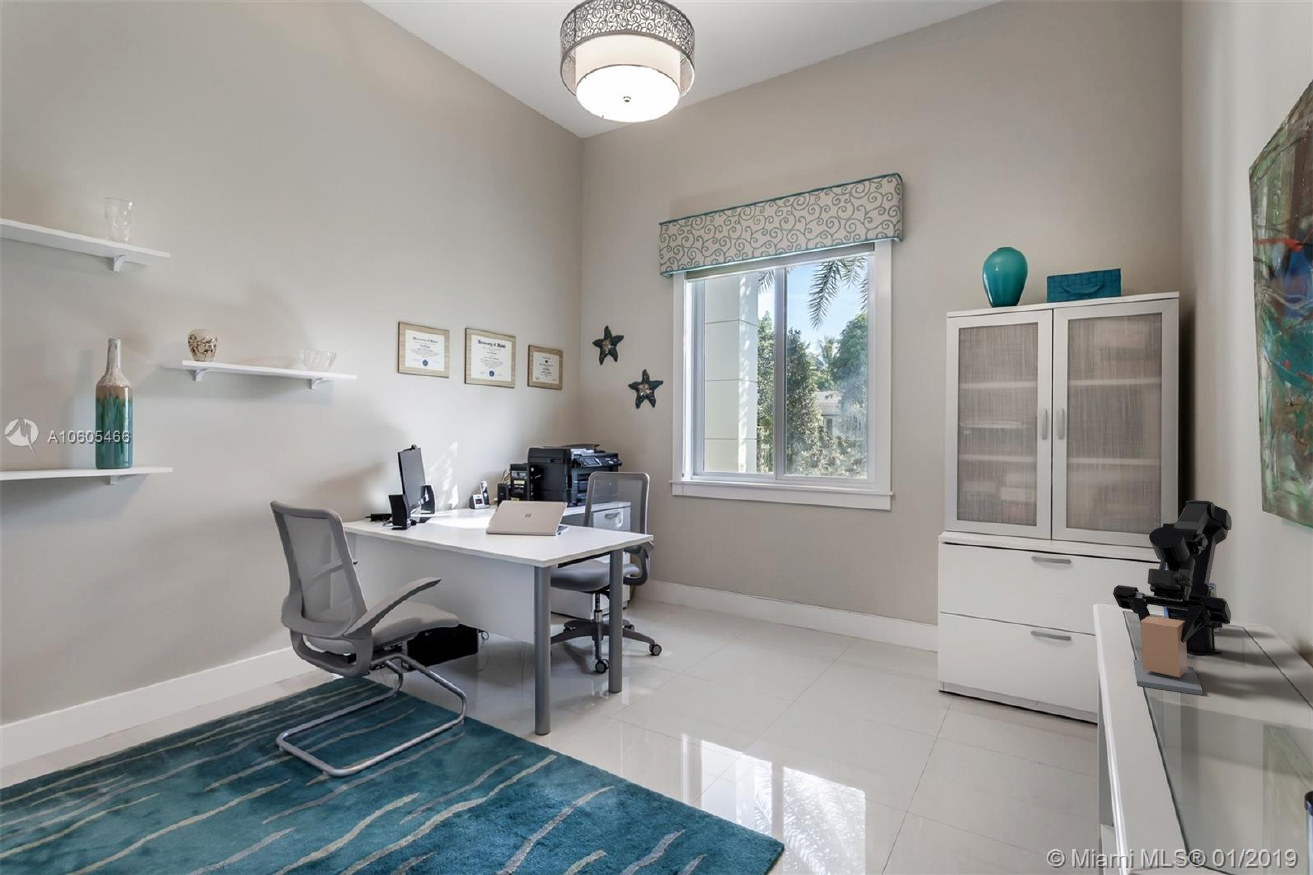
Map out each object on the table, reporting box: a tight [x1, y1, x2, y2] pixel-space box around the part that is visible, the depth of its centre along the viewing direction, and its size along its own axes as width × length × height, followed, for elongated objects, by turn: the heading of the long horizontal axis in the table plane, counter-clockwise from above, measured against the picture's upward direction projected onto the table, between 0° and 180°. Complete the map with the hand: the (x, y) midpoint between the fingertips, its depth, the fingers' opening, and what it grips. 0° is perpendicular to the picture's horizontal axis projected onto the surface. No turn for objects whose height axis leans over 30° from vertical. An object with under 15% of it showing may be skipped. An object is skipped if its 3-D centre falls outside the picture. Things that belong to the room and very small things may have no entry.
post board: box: [1133, 658, 1203, 696], centre depth 128 cm, size 14×10×4 cm
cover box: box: [1139, 615, 1188, 677], centre depth 128 cm, size 6×6×10 cm
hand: (1162, 638), depth 128 cm, fingers closed on cover box, 6 cm apart
